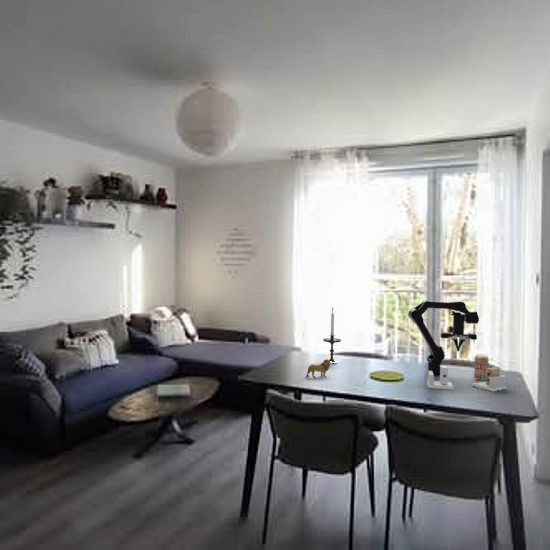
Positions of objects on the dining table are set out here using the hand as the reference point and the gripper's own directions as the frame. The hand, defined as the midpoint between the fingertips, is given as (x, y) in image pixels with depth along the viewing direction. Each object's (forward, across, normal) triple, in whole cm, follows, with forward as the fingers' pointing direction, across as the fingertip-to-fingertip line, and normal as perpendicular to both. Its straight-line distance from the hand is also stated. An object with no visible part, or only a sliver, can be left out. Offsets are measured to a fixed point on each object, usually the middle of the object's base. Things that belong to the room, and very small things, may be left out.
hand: (458, 351), depth 270 cm
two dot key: (+11, -12, +30) cm, 34 cm away
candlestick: (+13, +72, -12) cm, 74 cm away
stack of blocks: (+13, -12, +1) cm, 18 cm away
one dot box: (+13, +13, +33) cm, 38 cm away
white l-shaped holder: (+13, -11, +29) cm, 33 cm away
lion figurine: (+13, +75, +29) cm, 81 cm away
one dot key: (+11, +11, +33) cm, 37 cm away
